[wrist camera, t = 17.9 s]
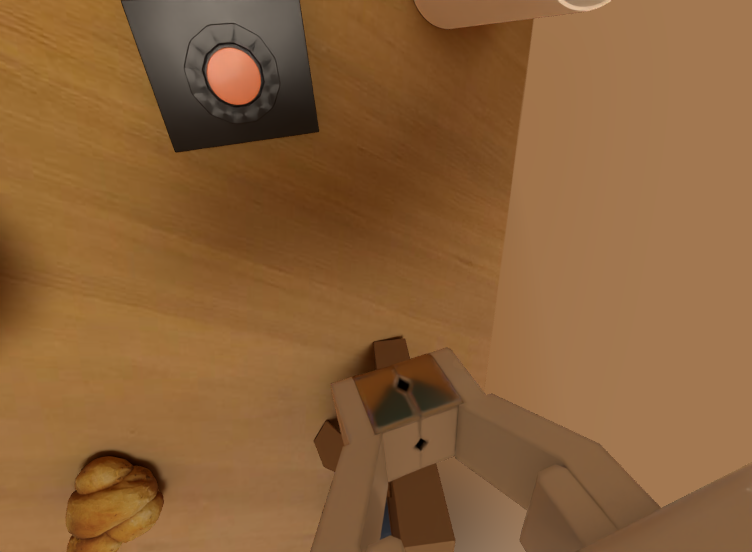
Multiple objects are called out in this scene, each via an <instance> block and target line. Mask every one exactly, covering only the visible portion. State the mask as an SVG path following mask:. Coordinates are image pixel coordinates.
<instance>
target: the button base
mask: <svg viewBox="0 0 752 552" xmlns="http://www.w3.org/2000/svg"><path fill="white" fill-rule="evenodd" d="M121 3H122V6H123V8H124V11H125V14H126V17H127V20H128V22H129V25H130V28H131V31H132V34H133V36H134V39H135V42H136V45H137V47H138V50H139V53H140V56H141V59H142V61H143V64H144V67H145V70H146V73H147V75H148V78H149V81H150V84H151V86H152V89H153V92H154V95H155V98H156V100H157V103H158V106H159V109H160V112H161V114H162V117H163V120H164V123H165V125H166V128H167V131H168V134H169V137H170V139H171V142H172V145H173V148H174V151H175V152H182V151H189V150H196V149H203V148H210V147H217V146H224V145H231V144H238V143H245V142H252V141H259V140H266V139H273V138H280V137H287V136H294V135H301V134H308V133H315V132H319V127H318V120H317V114H316V107H315V100H314V94H313V87H312V80H311V74H310V67H309V60H308V53H307V47H306V40H305V33H304V27H303V20H302V13H301V7H300V0H121ZM222 48H236V49H239V50H242V51H243V52H245V53H246V54H248V55H249V56H250V57H251V58H252V59H253V60H254V62H255V63H256V65H257V67H258V69H259V72H260V77H261V86H260V90H259V92H258V94H257V96H256V97H255V98H254V99H253V100H252V101H251V102H249V103H246V104H243V105H234V104H230V103H227V102H225V101H224V100H222V99H221V98H219V97H218V96H217V95H216V94H215V93H214V91H213V90H212V88H211V86H210V84H209V82H208V78H207V65H208V61H209V59H210V58H211V56H212V55H213V54H214V53H215V52H216V51H218V50H220V49H222Z"/></svg>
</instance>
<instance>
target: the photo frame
mask: <svg viewBox="0 0 752 552" xmlns="http://www.w3.org/2000/svg"><path fill="white" fill-rule="evenodd" d="M374 354H375V370H378V369H381V368H385V367H388V366H390V365H393V364H396V363H399V362H402V361H405V360H408V359H410V357H409V353H408V349H407V345H406V340H405V339H396V340H386V341H376V342H374ZM314 443H315V446H316V448H317V451H318V453H319V456H320V458H321V461H322V463H323V466H324V467H325V468H327V469H330V470H332V471H334V472H335V470H336V467H337V464H338V461H339V458H340V454H341V451H342V448H343V446H344V442H343V439H342V436H341V432H340V431H339V430H338V429H337V428H336V427H334V426H333V425H332V424H331V423H330V422H329V421H326V422H325V424H324V425H323V427H322V429H321V431H320V432H319V434H318V436H317V437H316V439H315V441H314ZM387 504H388V512H389V520H390V529H391V536H393V537H395V538H398V539H400V540H401V541H402V544H403V547H404V549H405V552H454V547H455V537H454V533H453V529H452V525H451V521H450V517H449V513H448V509H447V505H446V501H445V497H444V493H443V489H442V485H441V481H440V477H439V473H438V469H437V465H436V463H435V464H432V465H429V466H427V467H424V468H421V469H419V470H416V471H414V472H412V473H409V474H407V475H404V476H402V477H400V478H397V479H395V480H393V481H390V482H388V490H387Z"/></svg>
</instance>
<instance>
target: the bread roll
mask: <svg viewBox="0 0 752 552" xmlns="http://www.w3.org/2000/svg"><path fill="white" fill-rule="evenodd" d="M75 489H76V490H75V491H74V492H73V493H72V495H71V497H70V498H69V500H68V506H67V512H66V527H67V529H68V532H69V533H71V534H72V536H71V538H70V540H69V543H68V546H67V552H116V551H117V550H118V549H119V548H120V546H121V544H122V542H124V543H127V542H128V541H132V540H134V539H135V538H136V537H139V536H141V535H142V534H144V533H146V532H147V531H148V530H150V528H151V527H152V526H153V525H155V524H156V523H155V522H156V521H157V520H158V517H159V515H160V512H161V510H162V507H163V504H164V500H163V495H162V493H161V492H160V491H159V490H158V484H157V482H156V479H155V478H154V477H153V475H152V472H151V471H150V470H149V469H147V468H144V467H141V466H133V465H132V464H130V463H129V462H128V461H127V460H126V459H121V458H117V457H112V456H106V457H100V458H97V459H94V460H93V461H91V462H90V463H89V464H87V465H86V466H85V467H84V468H83V469H82V470H81V472H80V473H79V475H78V476H77V478H76V483H75Z"/></svg>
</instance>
